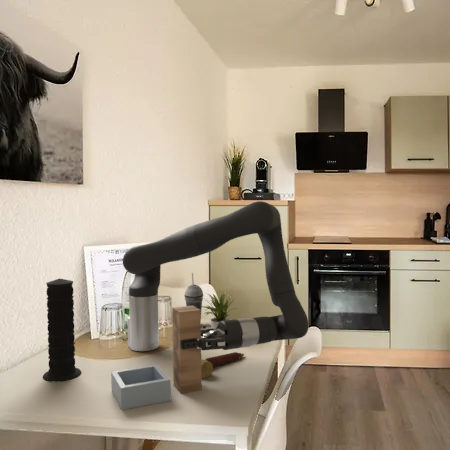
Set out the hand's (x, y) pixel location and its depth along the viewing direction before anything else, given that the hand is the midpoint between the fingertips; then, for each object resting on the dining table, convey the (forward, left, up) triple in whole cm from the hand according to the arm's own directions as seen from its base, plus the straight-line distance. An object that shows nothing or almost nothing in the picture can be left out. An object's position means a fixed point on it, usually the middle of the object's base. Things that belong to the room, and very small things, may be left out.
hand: (177, 341), depth 116 cm
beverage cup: (-38, +49, -12) cm, 63 cm away
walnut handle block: (+1, +2, -12) cm, 12 cm away
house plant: (-20, +43, -12) cm, 49 cm away
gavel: (-3, +20, -13) cm, 24 cm away
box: (-5, -8, -12) cm, 15 cm away
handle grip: (-32, -11, -12) cm, 37 cm away
